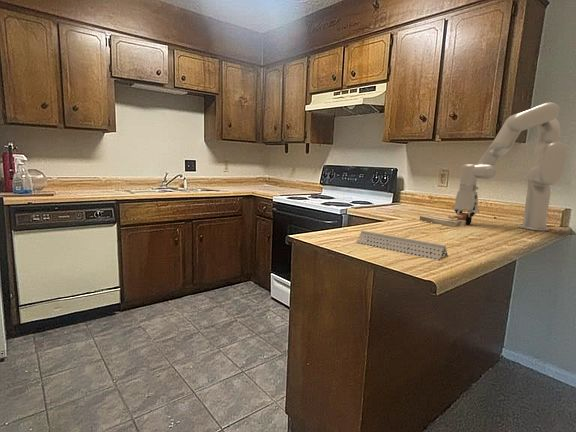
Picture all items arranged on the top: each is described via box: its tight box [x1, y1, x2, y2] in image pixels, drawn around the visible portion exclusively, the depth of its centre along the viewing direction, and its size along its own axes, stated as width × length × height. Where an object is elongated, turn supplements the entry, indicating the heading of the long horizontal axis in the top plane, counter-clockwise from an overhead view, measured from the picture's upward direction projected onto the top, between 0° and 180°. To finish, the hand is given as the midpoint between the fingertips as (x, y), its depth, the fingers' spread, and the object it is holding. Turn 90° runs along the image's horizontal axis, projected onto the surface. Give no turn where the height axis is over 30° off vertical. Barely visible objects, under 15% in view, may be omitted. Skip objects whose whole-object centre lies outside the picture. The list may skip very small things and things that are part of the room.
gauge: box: [447, 212, 468, 226], centre depth 181 cm, size 15×4×6 cm, turn 122°
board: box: [419, 214, 466, 228], centre depth 186 cm, size 10×20×3 cm, turn 32°
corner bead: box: [355, 230, 449, 262], centre depth 125 cm, size 31×9×5 cm, turn 46°
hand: (463, 223), depth 184 cm, fingers closed on gauge, 4 cm apart
